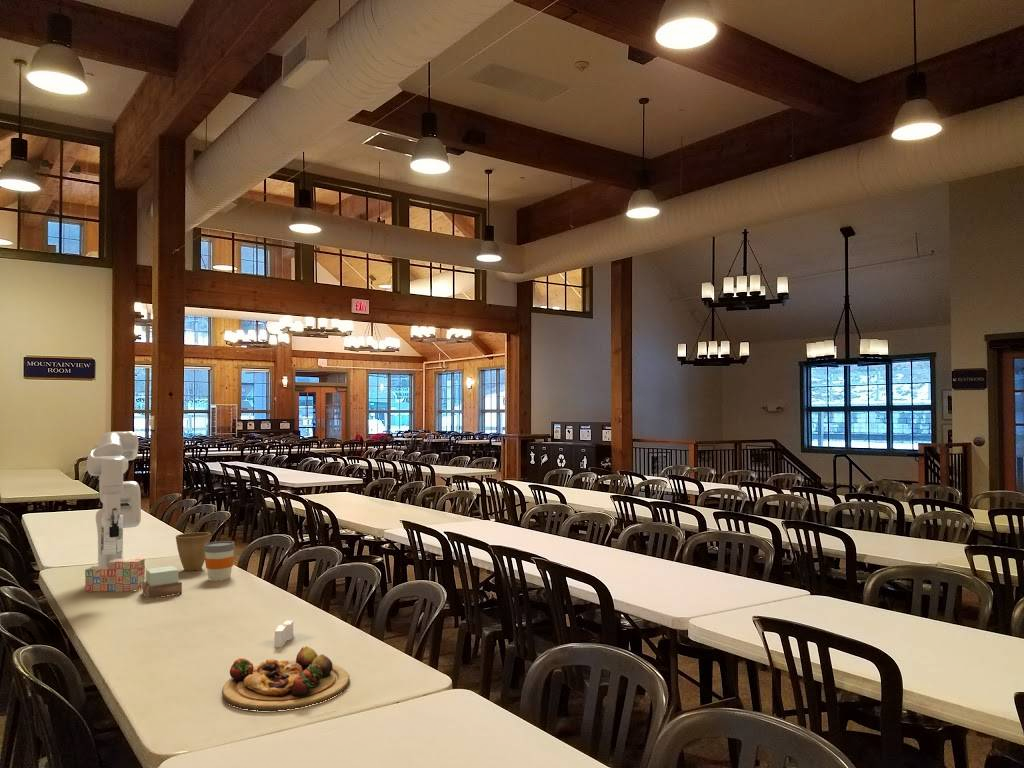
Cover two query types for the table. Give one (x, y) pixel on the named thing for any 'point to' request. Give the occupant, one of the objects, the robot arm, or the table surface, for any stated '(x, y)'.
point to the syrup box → (111, 538)
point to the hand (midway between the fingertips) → (112, 535)
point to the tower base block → (161, 589)
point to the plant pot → (192, 549)
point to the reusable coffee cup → (219, 559)
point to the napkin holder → (283, 633)
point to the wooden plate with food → (284, 682)
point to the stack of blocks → (116, 575)
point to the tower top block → (161, 575)
